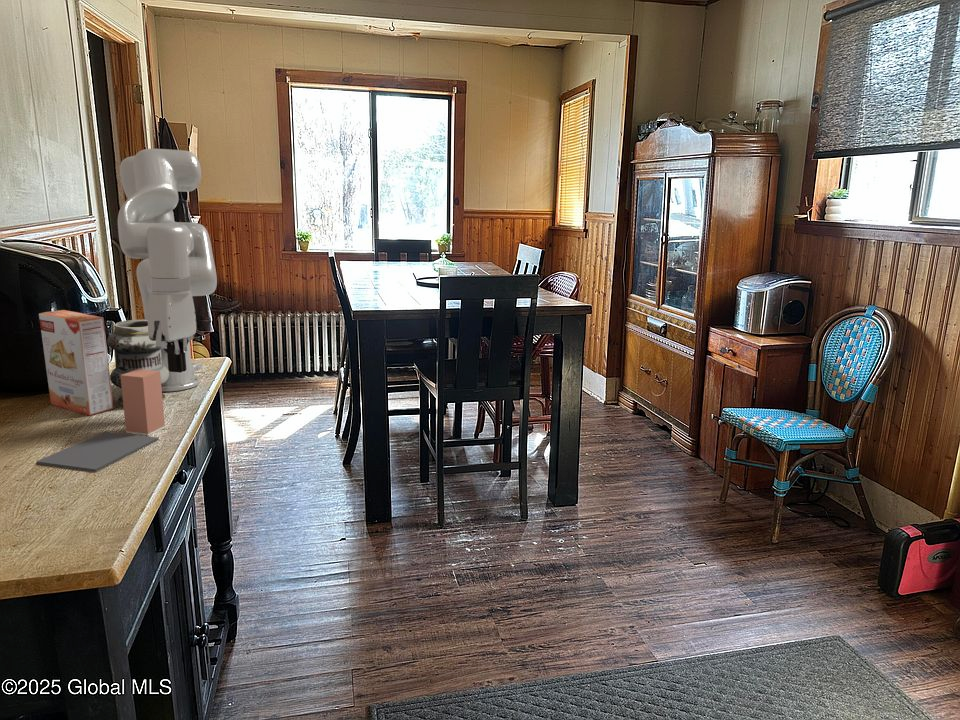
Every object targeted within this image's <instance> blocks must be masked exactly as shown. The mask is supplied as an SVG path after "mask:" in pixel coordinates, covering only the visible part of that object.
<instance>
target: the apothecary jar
mask: <svg viewBox="0 0 960 720" xmlns="http://www.w3.org/2000/svg"><path fill="white" fill-rule="evenodd" d="M107 345H108V346H109V347H110V349H112V350H113V351H114V360H115V367H114V369H112V371H111V373H110V382H111V384H113V386H115V387H116V388H119V389H121V390H122V386H121V376H120V375H122V374H125V373H128V372H131V371H134V370H137V369H144V370H154V371H160V375H161V385H162V384H163V383H165V382H166V380H167V379H168V377H169V371H168V369H167V368H166V367H165V366H163V365H162V356H161V348H156V341H152V340H150V339H149V335H148V320H145V319H129V320H123V321H122V320H121V321H119V322H116V323H115V324H114V330H113V332H112V333H111V334H110V335H109V336H108V338H107ZM162 398H163V401H164V400H165V399H166V395H165V394H164V392H162ZM117 403H119V404H120V405H123V396H122V395H121V396H119V397H118V398H117Z"/></svg>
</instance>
